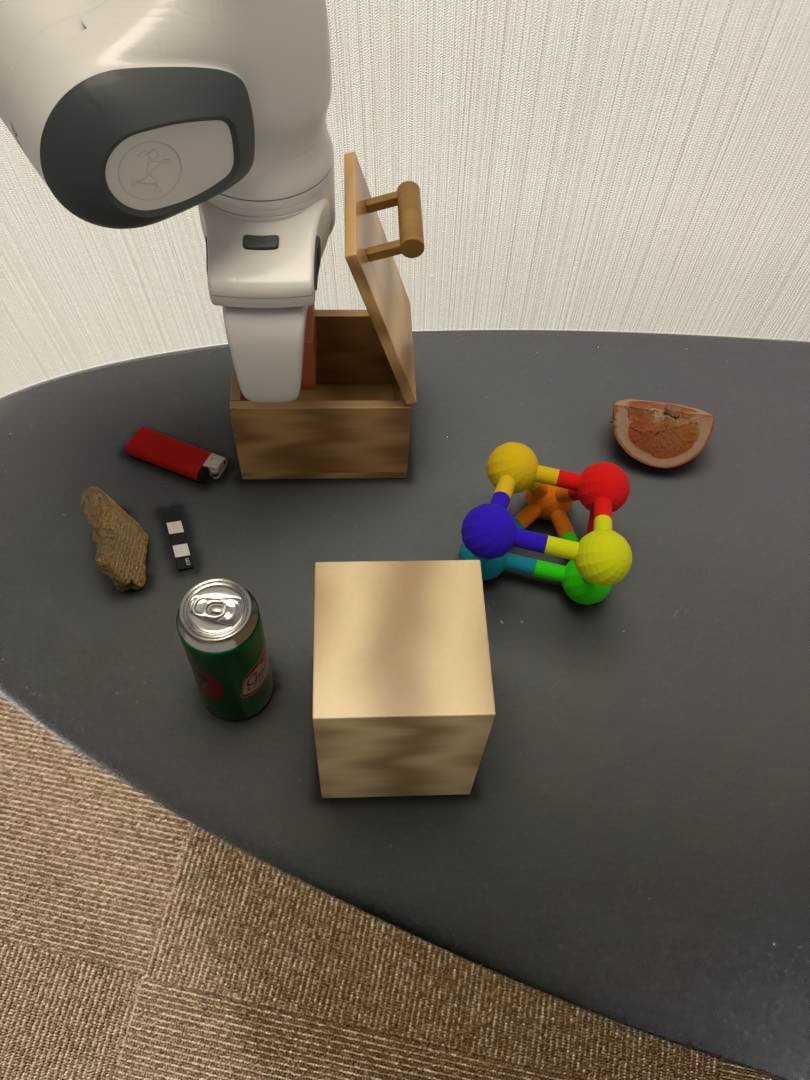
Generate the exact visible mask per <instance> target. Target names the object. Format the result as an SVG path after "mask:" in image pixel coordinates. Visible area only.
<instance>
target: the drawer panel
mask: <svg viewBox="0 0 810 1080" xmlns="http://www.w3.org/2000/svg"><path fill="white" fill-rule="evenodd" d="M343 186H344V187H343V188H344V191H343V193H344V194H343V196H344V197H343V199H344V202H343V203H344V210H343V211H344V214H343V215H344V259H345V261H346V264H347V267H348V268H349V271H350V273H351V276H352V278H353V280H354V283H355V285H356V287H357V290H358V292H359V295H360V297H361V299H362V302H363V304H364V307H365V308H366V309H365V310H367V311H368V314H369V316H370V318H371V321H372V323H373V326H374V328H375V330H376V333H377V335H378V337H379V340H380V342H381V345H382V347H383V349H384V352H385V354H386V356H387V359H388V361H389V364H390V366H391V368H392V371H393V373H394V375H395V378H396V380H397V383H398V385H399V387H400V390H401V392H402V394H403V397H404V399H405V402H406V404H411V405H412V404H416V403H418V402H417V388H416V387H417V386H416V385H417V383H416V371H415V355H414V354H415V353H414V337H413V322H412V305H411V302H410V298H409V296H408V292H407V291H406V288H405V285H404V282H403V279H402V277H401V273H400V271H399V268H398V266H397V263H396V261H395V258H394V257H395V256H399V255H402V256H404V258H405V257H406V258H408V259H416V258H419V257H421V256H422V255H423V253H424V251H425V234H424V223H423V221H424V220H423V210H422V209H423V208H422V197H421V188H420V186H419V184H417V183H416V182H415V181H412V180H405V181H403V182H401V183H400V184H399V185H398V186H397V188H396V190H395V191H391V192H387V193H384V194H381V195H377V196H373V197H372V195H371V191H370V189H369V187H368V183H367V181H366V177H365V176H364V173H363V170H362V168H361V165H360V161H359V159H358V156H357V153H356V151H350V152H346V153H344V155H343ZM394 207H397V221H398V237H399V238H398V239H396V240H391V241H389V240H388V239H387V238H388V237H387V236H386V233H385V230H384V228H383V224H382V222H381V219H380V217H379V214H378V211H382V210H386V209H390V208H391V209H392V208H394Z"/></svg>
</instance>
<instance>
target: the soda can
mask: <svg viewBox="0 0 810 1080" xmlns="http://www.w3.org/2000/svg"><path fill="white" fill-rule="evenodd" d="M175 617H176V618H175V625H176V631H177V633H178V636H179V638H180V641H181V644H182V647H183V649H184V652H185V656H186V658H187V660H188V664H189V666H190V669H191V672H192V675H193V677H194V680H195V681H196V682H195V683H196V685H197V688H198V691H199V693H200V696H201V698H202V701H203V703H204V705H205V707H206V708H207V709H208V711H210V712H211V714H213V715H215V716H217V717H219V718H221V719H225V720H229V721H230V720H231V721H239V720H243V719H247V718H250V717H252V716H255V715H256V714H257V713H259V712H261V710H263V708H265V706H266V705H267V704H268V703H269V701H270V699H271V696H272V694H273V691H274V678H273V672H272V667H271V663H270V658H269V652H268V648H267V641H266V637H265V631H264V627H263V621H262V617H261V612H260V607H259V604H258V602H257V599H256V598H255V596H254V595H253V594H252V593H251V592H250V590H248V589H247V588H246V587H244V586H242V585H241V584H240V583H238V582H236V581H234V580H231V579H227V578H223V577H222V578H221V577H218V578H217V577H215V578H209V579H206V580H203V581H200V582H198V583H197V584H195V585H193V586H192V587H191V588H190V589H189V590H188V591H187V592H186V593H185V595H184V596H183V598H182V600H181V602H180V605H179V606H178V610H177V612H176V616H175Z"/></svg>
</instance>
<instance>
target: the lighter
mask: <svg viewBox="0 0 810 1080" xmlns="http://www.w3.org/2000/svg"><path fill="white" fill-rule="evenodd" d="M125 453H126V454H127V455H129V456H131V457H135V458H137V459H140V460H142V461H145V462H148V463H150V464H152V465H156V466H158V467H161V468H163V469H165V470H168V471H170V472H174V473H176V474H178V475H181V476H183V477H186V478H189V479H191V480H193V481H196V482H200V483H202V484H205V483H207V482H208V480H209V479H210V477H211V478H212V479H213V480H218V479H220V477H221V476H222V474H223V473H224V472H225V470H226V468H227V466H228V458H227V457H224V456H222V455H219V454H216V453H214V452H212V451H209V450H206V449H204V448H200V447H198V446H195V445H192V444H190V443H187V442H185V441H182V440H180V439H177V438H174V437H171V436H169V435H167V434H164V433H161V432H159V431H156V430H154V429H150V428H148V427H145V426H140V428H138V430H136V432H135V434H134V435H133V436H132V437H131V438H130V440H129V441H128V443H127V445H126V447H125Z"/></svg>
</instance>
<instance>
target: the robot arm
mask: <svg viewBox="0 0 810 1080" xmlns="http://www.w3.org/2000/svg"><path fill="white" fill-rule="evenodd" d="M326 1H327V0H0V120H1V121H2V122H3V124H4V125H5V127H6V128H7V130H8V131H9V133H10V134H11V136H12V137H13V138H14V140H15V141H16V143H17V144H18V146H19V148H20V150H21V151H22V152H23V154H24V156H25V157H26V158H27V160H28V161H29V163H30V164H31V165H32V167H33V168H34V170H35V171H36V172H37V174H38V175H39V177H40V178H41V179H42V180H43V182H44V184H45V185H46V186H47V187H48V189H49V191H50V192H51V193H52V195H53V197H54V198H55V199H56V200H57V202H58V203H59V204H60V205H61V206H62V207H63V208H64V209H65V210H67V212H69V213H71V214H72V215H74V216H75V217H77V218H78V219H80V220H82V221H84V222H87V223H89V224H90V225H91V224H92V225H95V226H97V227H101V228H107V229H113V230H133V229H138V228H139V229H140V228H143V227H147V226H152V225H155V224H158V223H160V222H162V221H166V220H168V219H170V218H172V217H175V216H178V215H180V214H181V213H184V212H186V211H188V210H191V209H193V208H194V207H196V206H197V208H198V214H199V215H198V216H199V220H200V226H201V231H202V234H203V238H204V242H205V256H206V257H205V258H206V260H205V261H206V262H205V263H206V264H205V265H206V278H207V289H208V295H209V299H210V302H211V304H212V305H214V306H217V307H221V308H222V317H223V325H224V329H225V330H224V331H225V335H226V340H227V344H228V347H229V351H230V356H231V360H232V365H233V364H234V368H235V371H236V375H237V379H238V382H239V386H240V389H241V392H242V394H243V395H244V397H245V398H246V399H248V400H249V401H252V402H259V403H284V402H292V401H295V400H296V399H297V398H298V396H299V393H300V387H301V379H302V367H303V354H304V340H305V328H306V318H307V309H308V306H311V305H313V304H314V302H316V291H318V283H319V273H320V269H321V264H322V263H321V261H322V259H323V256H324V252H325V250H326V248H327V244H328V241H329V237H330V236H331V234H332V232H333V230H334V228H335V224H336V191H335V190H336V183H335V151H334V146H333V145H334V144H333V141H332V137H331V134H330V131H329V129H328V124H327V115H328V110H329V107H330V103H331V100H332V94H333V92H332V91H333V75H332V52H331V50H332V49H331V37H330V26H329V17H328V10H327V2H326Z"/></svg>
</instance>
